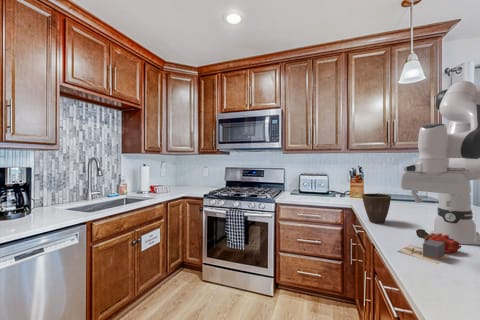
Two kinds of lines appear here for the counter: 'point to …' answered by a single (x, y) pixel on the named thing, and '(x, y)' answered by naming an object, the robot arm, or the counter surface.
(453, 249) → the dragon fruit
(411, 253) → the pine board
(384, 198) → the plant pot
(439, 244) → the block
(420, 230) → the dark brown rough rod
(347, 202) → the counter surface
